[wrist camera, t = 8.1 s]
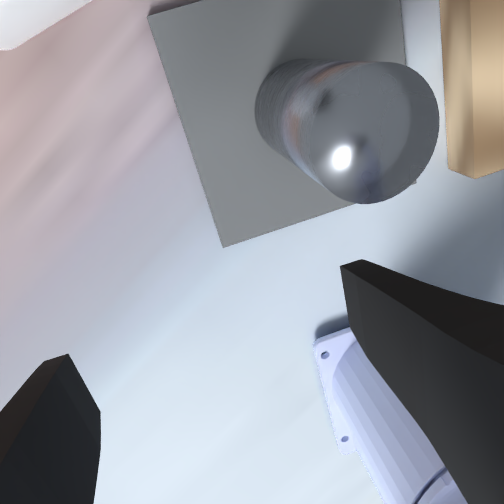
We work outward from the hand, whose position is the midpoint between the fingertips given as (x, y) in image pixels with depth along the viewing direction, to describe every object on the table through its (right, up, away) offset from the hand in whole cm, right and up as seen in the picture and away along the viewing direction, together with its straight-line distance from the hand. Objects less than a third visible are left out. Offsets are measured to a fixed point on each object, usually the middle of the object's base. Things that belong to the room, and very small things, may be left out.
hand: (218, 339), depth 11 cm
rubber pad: (+3, +8, +8) cm, 12 cm away
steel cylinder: (+3, +8, +7) cm, 12 cm away
